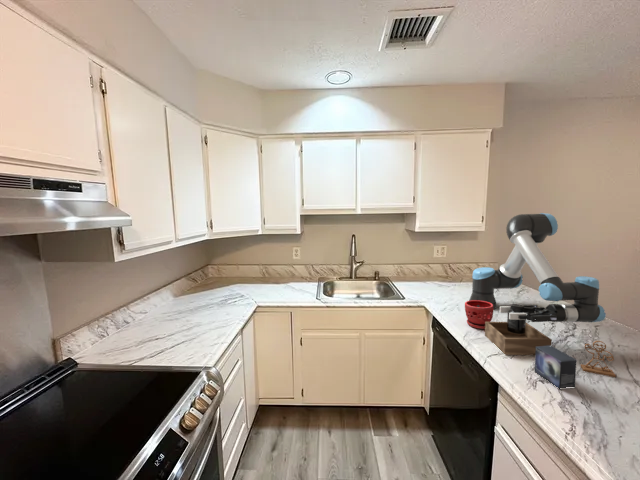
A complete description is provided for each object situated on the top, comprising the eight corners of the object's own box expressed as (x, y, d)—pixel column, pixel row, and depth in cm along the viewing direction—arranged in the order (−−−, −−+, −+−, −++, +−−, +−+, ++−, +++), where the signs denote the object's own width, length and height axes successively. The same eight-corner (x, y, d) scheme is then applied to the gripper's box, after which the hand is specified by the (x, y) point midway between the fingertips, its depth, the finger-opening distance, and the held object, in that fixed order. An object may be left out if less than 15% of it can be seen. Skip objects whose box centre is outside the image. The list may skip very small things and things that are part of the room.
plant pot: (491, 322, 152) (491, 300, 151) (494, 332, 140) (495, 309, 139) (463, 319, 158) (464, 298, 156) (464, 328, 146) (465, 306, 145)
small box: (532, 372, 107) (534, 345, 106) (548, 370, 107) (550, 344, 106) (558, 390, 96) (560, 361, 95) (576, 388, 97) (578, 359, 96)
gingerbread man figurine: (611, 372, 105) (614, 341, 104) (616, 377, 102) (618, 346, 100) (580, 366, 110) (582, 336, 108) (583, 371, 106) (585, 340, 105)
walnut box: (484, 335, 137) (485, 321, 137) (524, 336, 135) (525, 321, 135) (504, 354, 120) (505, 339, 119) (550, 355, 118) (551, 339, 117)
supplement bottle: (528, 335, 123) (529, 308, 121) (511, 334, 124) (511, 307, 123) (520, 328, 129) (521, 303, 128) (504, 328, 131) (505, 302, 130)
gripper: (578, 331, 114) (517, 330, 117) (544, 312, 134) (493, 312, 137) (579, 313, 113) (518, 313, 116) (545, 297, 133) (493, 297, 136)
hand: (504, 312), depth 126 cm, fingers open, 7 cm apart
